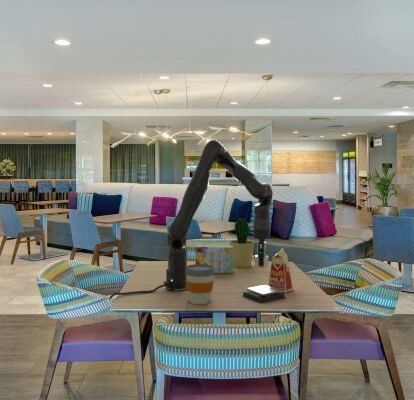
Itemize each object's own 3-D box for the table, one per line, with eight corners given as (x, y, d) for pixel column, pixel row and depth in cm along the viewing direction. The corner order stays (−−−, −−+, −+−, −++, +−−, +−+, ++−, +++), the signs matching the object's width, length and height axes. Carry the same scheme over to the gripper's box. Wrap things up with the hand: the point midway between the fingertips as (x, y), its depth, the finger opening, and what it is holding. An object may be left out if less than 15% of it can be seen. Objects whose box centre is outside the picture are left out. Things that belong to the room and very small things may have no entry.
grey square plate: (262, 295, 176) (262, 293, 176) (246, 289, 185) (246, 288, 185) (281, 292, 181) (281, 290, 181) (264, 286, 191) (264, 284, 191)
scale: (260, 302, 175) (261, 296, 174) (243, 296, 185) (243, 290, 185) (284, 297, 182) (284, 291, 182) (266, 291, 192) (266, 285, 192)
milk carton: (276, 286, 202) (276, 246, 201) (293, 289, 196) (293, 248, 195) (267, 290, 195) (267, 248, 194) (284, 293, 189) (285, 250, 188)
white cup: (261, 269, 179) (261, 257, 179) (252, 266, 184) (252, 255, 184) (271, 267, 182) (271, 256, 182) (261, 264, 187) (262, 254, 187)
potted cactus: (255, 263, 256) (256, 216, 254) (252, 268, 241) (253, 218, 239) (231, 262, 260) (231, 215, 258) (227, 267, 245) (227, 217, 244)
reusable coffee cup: (212, 296, 184) (213, 264, 183) (215, 305, 171) (215, 270, 170) (185, 297, 183) (185, 264, 182) (185, 305, 171) (185, 270, 170)
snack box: (232, 271, 234) (232, 245, 233) (232, 273, 228) (232, 247, 228) (196, 270, 236) (196, 245, 235) (195, 272, 230) (195, 246, 230)
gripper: (254, 225, 190) (254, 261, 191) (252, 229, 176) (252, 267, 177) (270, 226, 188) (270, 261, 189) (269, 229, 174) (269, 268, 175)
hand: (261, 264), depth 183 cm, fingers closed on white cup, 6 cm apart
